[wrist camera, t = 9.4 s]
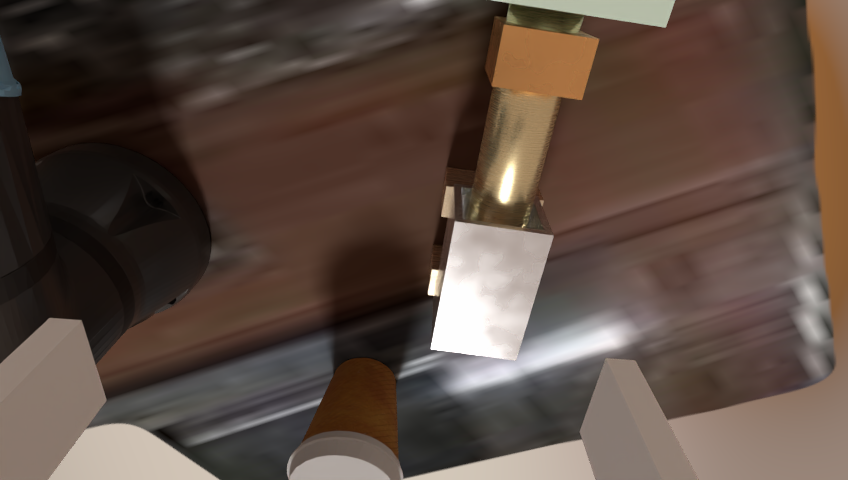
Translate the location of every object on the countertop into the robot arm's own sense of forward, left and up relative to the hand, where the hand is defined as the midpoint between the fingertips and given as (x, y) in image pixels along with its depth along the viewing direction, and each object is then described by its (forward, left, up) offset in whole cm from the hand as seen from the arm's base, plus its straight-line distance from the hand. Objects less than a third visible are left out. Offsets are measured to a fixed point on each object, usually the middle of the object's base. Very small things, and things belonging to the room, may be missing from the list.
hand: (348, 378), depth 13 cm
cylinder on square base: (+7, +2, -23) cm, 24 cm away
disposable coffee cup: (-1, -27, -27) cm, 39 cm away
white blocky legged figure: (+7, -8, -27) cm, 29 cm away
